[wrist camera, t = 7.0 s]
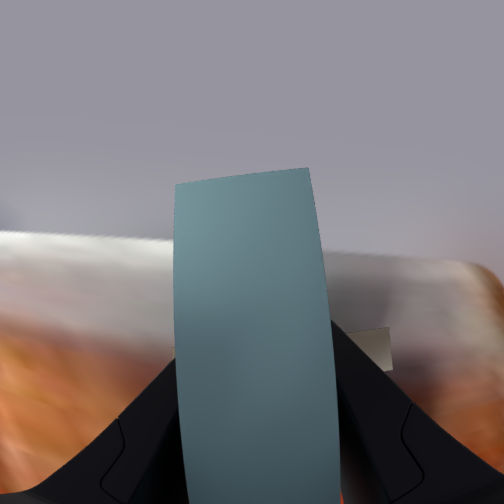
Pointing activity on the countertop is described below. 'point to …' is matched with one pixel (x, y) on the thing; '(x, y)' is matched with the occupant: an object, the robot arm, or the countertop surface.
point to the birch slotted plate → (370, 346)
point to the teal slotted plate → (254, 342)
